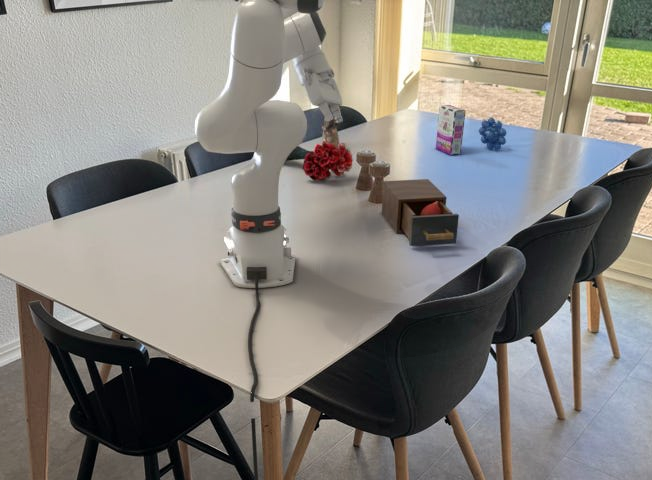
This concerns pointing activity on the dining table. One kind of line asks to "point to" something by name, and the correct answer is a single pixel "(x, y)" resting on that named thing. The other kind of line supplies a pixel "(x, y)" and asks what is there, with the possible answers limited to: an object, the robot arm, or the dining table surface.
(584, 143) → the dining table surface
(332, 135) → the figurine
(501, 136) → the grapes
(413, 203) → the drawer
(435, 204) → the onion
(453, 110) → the candy bar box
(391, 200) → the cabinet
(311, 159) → the carnation
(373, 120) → the dining table surface
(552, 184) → the dining table surface
